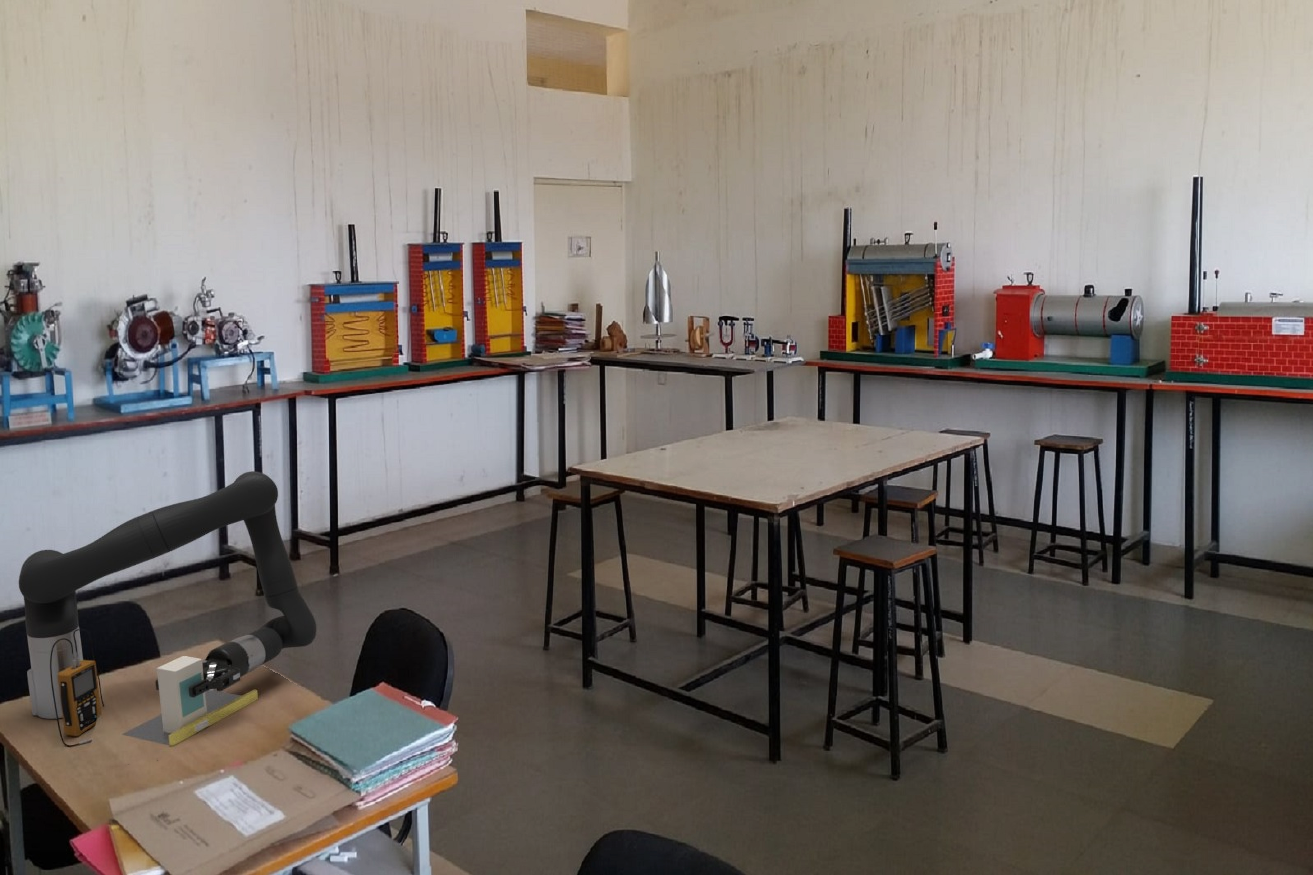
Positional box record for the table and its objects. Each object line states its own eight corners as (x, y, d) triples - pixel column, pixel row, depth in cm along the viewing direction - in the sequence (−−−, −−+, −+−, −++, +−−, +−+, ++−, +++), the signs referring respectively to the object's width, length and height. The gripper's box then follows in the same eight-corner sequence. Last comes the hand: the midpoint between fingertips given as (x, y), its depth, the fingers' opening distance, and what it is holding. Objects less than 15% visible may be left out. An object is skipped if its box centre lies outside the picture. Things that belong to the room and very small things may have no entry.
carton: (163, 731, 206) (156, 668, 204) (189, 717, 212) (183, 655, 210) (182, 735, 204) (175, 671, 202) (208, 721, 210) (202, 659, 208)
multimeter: (96, 750, 202) (84, 650, 199) (50, 745, 204) (37, 646, 201) (147, 716, 217) (137, 622, 213) (103, 712, 219) (93, 619, 215)
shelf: (122, 741, 206) (120, 724, 205) (210, 696, 225) (208, 680, 225) (174, 753, 201) (172, 736, 200) (259, 706, 220) (257, 690, 220)
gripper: (208, 636, 222) (144, 665, 207) (262, 645, 216) (200, 676, 201) (211, 670, 223) (148, 701, 208) (265, 680, 218) (203, 713, 203)
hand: (173, 689), depth 205 cm, fingers open, 8 cm apart
